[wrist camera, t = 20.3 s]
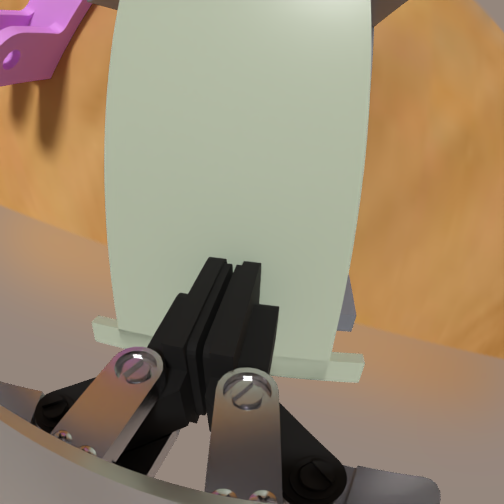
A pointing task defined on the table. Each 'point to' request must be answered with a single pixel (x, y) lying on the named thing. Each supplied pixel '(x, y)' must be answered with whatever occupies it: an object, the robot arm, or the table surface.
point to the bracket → (37, 38)
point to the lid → (237, 162)
